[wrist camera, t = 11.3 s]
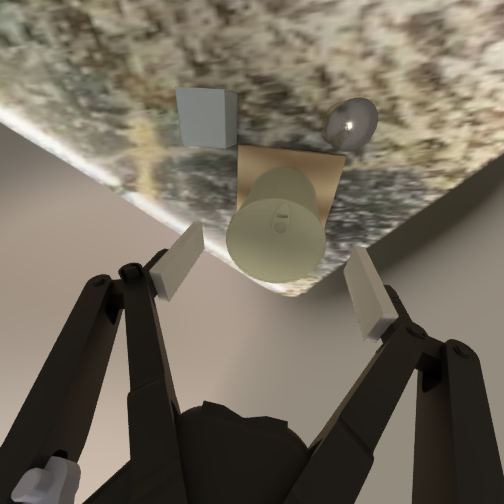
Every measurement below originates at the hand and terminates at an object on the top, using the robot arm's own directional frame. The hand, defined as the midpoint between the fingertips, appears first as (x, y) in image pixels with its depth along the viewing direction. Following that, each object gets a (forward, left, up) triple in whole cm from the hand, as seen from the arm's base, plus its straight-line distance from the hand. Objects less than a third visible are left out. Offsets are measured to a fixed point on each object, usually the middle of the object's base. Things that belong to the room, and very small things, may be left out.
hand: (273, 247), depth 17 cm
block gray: (-9, -9, -14) cm, 19 cm away
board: (0, 0, -13) cm, 13 cm away
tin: (-9, +5, -13) cm, 17 cm away
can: (0, 0, -12) cm, 12 cm away
